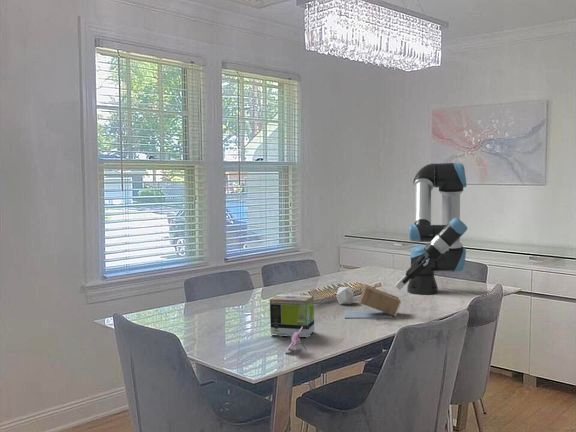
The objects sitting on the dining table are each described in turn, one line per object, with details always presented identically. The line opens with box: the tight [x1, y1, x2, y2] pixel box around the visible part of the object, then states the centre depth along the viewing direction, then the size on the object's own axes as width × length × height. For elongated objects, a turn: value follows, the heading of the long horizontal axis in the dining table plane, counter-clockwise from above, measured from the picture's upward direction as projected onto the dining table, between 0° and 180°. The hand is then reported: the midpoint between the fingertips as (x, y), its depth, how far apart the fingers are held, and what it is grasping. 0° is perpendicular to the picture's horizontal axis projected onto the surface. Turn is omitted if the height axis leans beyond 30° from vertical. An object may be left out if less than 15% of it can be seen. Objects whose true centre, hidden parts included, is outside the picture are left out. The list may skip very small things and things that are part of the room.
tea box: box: [269, 293, 315, 338], centre depth 231 cm, size 15×10×15 cm
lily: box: [286, 326, 307, 351], centre depth 211 cm, size 11×11×9 cm
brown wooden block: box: [358, 284, 403, 317], centre depth 258 cm, size 7×7×16 cm
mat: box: [343, 309, 393, 319], centre depth 259 cm, size 12×20×1 cm, turn 87°
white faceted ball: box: [335, 286, 355, 305], centre depth 280 cm, size 8×9×10 cm
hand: (397, 287), depth 256 cm, fingers closed
